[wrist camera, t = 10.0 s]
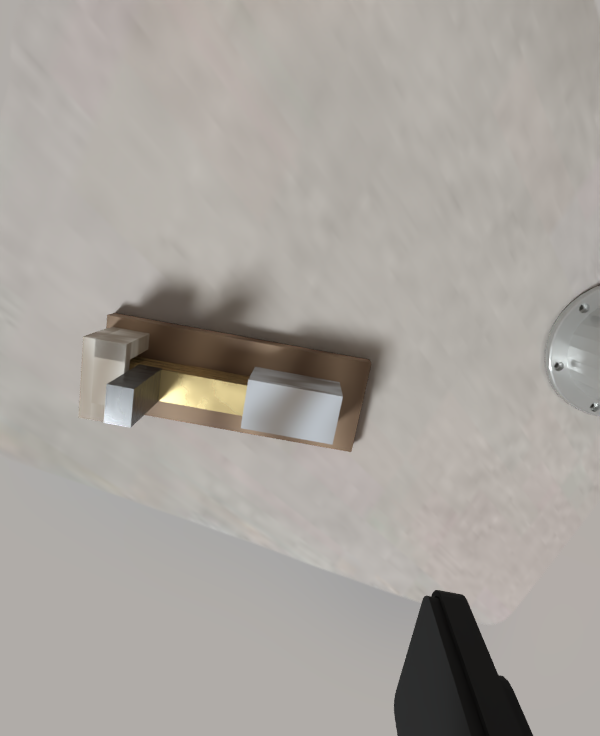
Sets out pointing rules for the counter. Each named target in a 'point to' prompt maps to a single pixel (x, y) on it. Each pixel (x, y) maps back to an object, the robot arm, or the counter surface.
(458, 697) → the robot arm
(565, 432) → the counter surface
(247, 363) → the sliding bolt latch
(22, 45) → the counter surface
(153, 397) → the brass bolt with handle
